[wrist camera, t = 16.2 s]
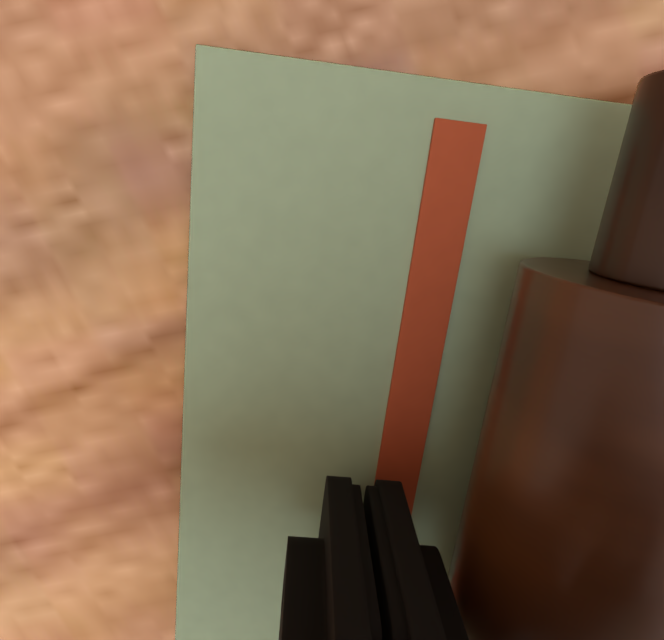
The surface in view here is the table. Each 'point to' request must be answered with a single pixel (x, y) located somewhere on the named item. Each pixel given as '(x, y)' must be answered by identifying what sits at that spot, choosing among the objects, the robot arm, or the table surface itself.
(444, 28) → the table surface
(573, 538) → the rolling pin
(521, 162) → the baking mat
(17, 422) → the table surface
